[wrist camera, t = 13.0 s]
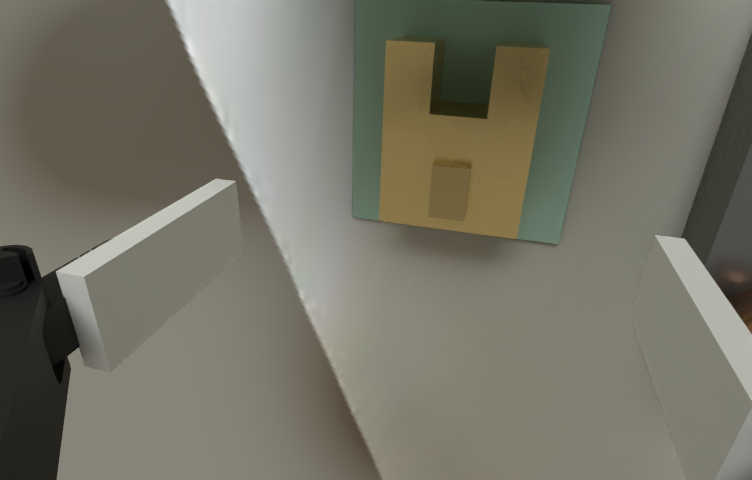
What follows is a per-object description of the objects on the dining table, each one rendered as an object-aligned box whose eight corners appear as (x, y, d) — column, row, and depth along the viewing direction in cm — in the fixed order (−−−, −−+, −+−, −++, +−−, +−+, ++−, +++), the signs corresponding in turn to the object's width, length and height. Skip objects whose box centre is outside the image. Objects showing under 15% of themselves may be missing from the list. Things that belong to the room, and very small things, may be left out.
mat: (357, -4, 28) (354, -4, 28) (610, 4, 26) (611, 4, 25) (353, 214, 35) (352, 216, 34) (558, 241, 32) (558, 244, 31)
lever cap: (403, 36, 28) (382, 41, 24) (545, 43, 27) (551, 50, 22) (394, 195, 33) (375, 226, 28) (515, 210, 31) (516, 245, 26)
